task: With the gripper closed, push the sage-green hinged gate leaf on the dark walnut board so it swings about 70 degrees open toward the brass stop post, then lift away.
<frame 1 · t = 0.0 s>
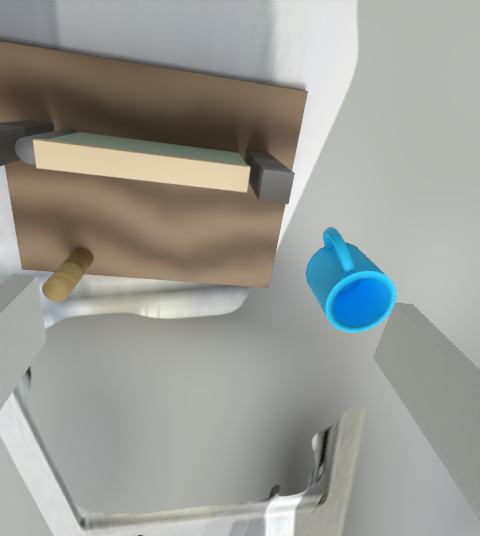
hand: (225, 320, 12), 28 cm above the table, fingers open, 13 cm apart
mug: (331, 257, 44), on the table
gate frame: (77, 137, 34), on the table
gate leaf: (145, 156, 30), point 7 cm above the table, hinge at 0.0°
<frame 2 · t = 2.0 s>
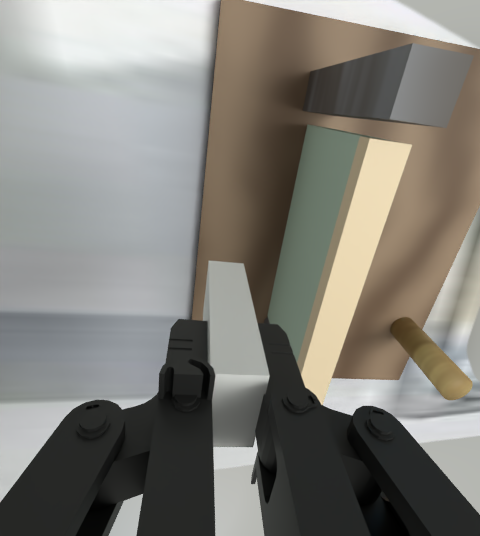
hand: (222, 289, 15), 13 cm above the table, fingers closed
gate frame: (271, 313, 32), on the table
gate leaf: (309, 271, 23), point 7 cm above the table, hinge at 0.0°
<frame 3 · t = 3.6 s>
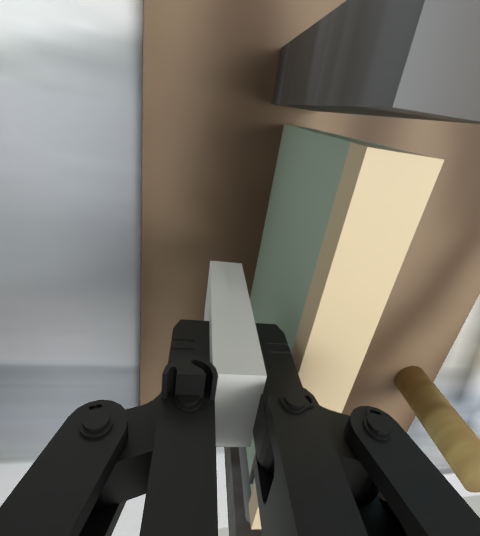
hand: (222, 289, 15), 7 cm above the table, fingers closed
gate frame: (243, 361, 25), on the table
gate leaf: (283, 329, 16), point 7 cm above the table, hinge at 1.0°, touching gripper
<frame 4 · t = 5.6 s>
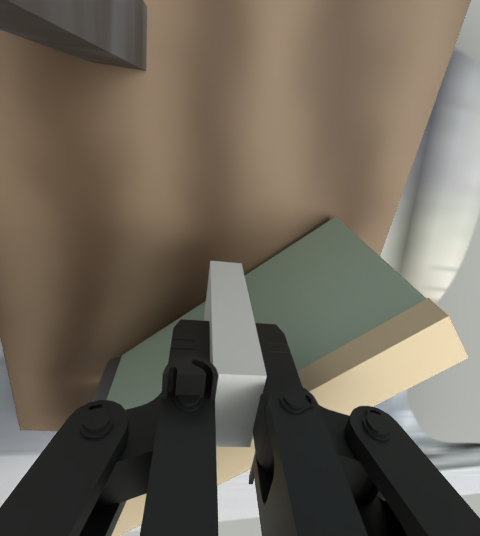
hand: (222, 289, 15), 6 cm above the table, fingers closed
gate frame: (126, 353, 24), on the table
gate leaf: (218, 363, 16), point 7 cm above the table, hinge at 47.2°, touching gripper
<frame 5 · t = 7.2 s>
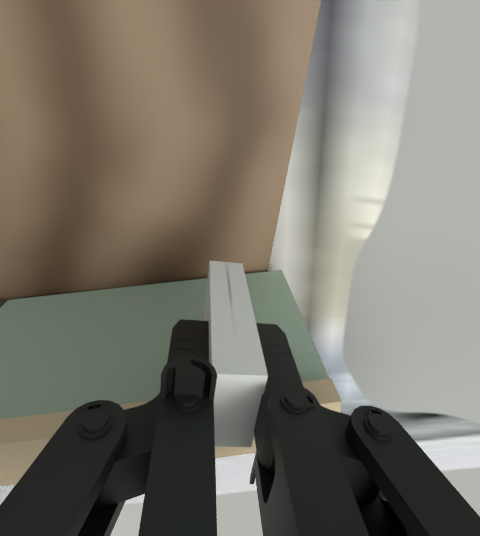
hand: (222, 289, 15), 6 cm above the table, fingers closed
gate frame: (13, 299, 21), on the table
gate leaf: (112, 354, 15), point 7 cm above the table, hinge at 77.3°, touching gripper
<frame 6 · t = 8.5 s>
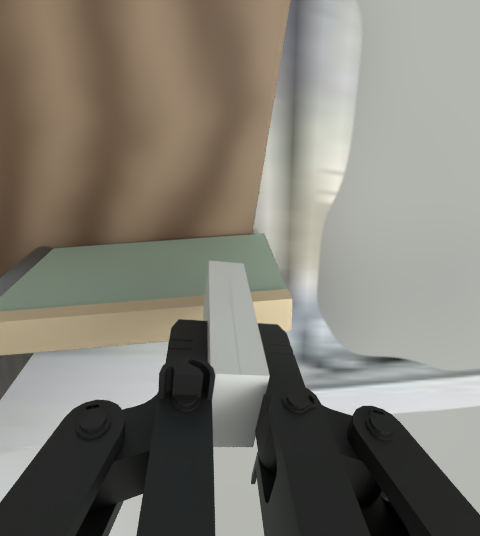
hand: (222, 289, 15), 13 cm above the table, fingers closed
gate frame: (54, 250, 27), on the table
gate leaf: (137, 282, 21), point 7 cm above the table, hinge at 79.4°
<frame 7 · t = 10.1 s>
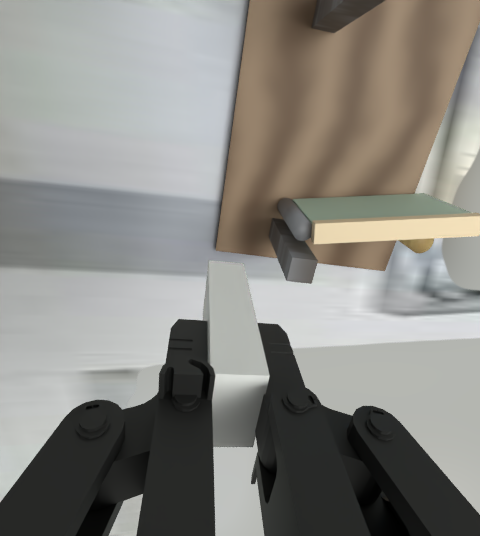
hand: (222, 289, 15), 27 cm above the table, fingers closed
gate frame: (283, 202, 41), on the table
gate leaf: (367, 215, 35), point 6 cm above the table, hinge at 79.4°
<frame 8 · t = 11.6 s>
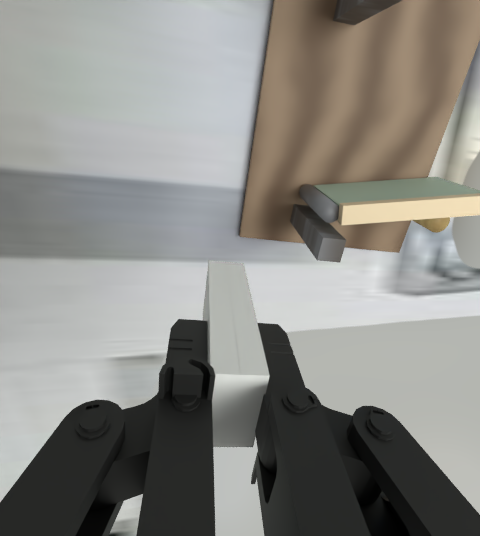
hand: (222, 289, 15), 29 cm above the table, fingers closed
gate frame: (303, 189, 43), on the table
gate leaf: (387, 197, 38), point 6 cm above the table, hinge at 79.4°
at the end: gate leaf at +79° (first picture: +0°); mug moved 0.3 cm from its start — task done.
